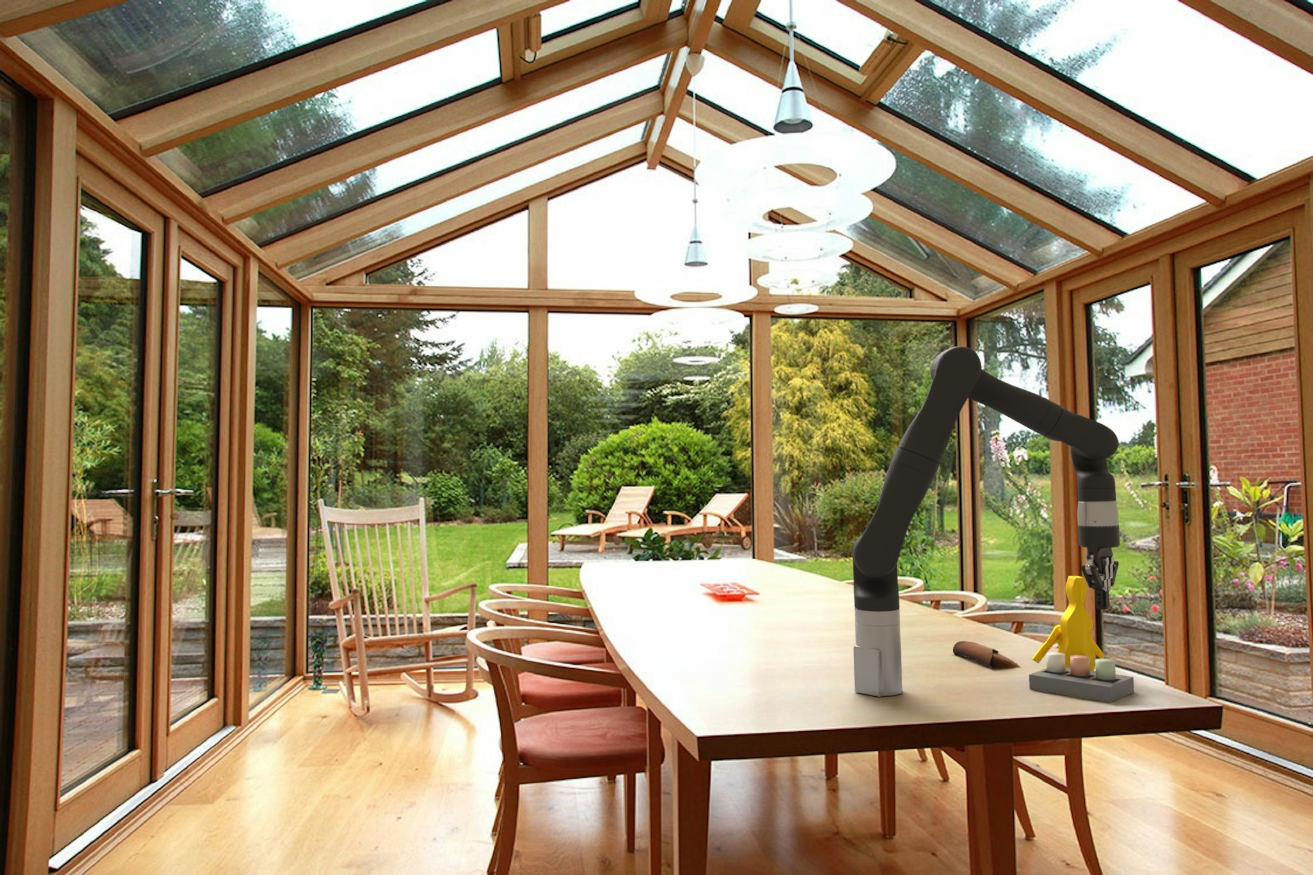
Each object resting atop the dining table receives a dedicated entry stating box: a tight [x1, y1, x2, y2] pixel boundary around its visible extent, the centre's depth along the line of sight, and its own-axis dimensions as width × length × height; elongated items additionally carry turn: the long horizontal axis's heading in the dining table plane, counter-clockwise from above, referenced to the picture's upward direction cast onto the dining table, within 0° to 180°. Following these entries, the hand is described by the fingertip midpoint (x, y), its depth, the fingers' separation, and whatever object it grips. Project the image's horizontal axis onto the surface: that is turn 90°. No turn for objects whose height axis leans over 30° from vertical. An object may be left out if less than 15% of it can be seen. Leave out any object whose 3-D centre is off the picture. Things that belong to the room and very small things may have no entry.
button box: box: [1028, 667, 1135, 703], centre depth 178 cm, size 12×16×3 cm
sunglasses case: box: [952, 640, 1021, 670], centre depth 209 cm, size 18×7×7 cm
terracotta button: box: [1070, 655, 1090, 676], centre depth 178 cm, size 4×4×4 cm
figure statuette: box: [1031, 575, 1106, 671], centre depth 193 cm, size 18×8×22 cm, turn 99°
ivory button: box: [1045, 651, 1066, 672], centre depth 182 cm, size 4×4×4 cm
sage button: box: [1094, 658, 1116, 680], centre depth 175 cm, size 4×4×4 cm
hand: (1102, 608), depth 175 cm, fingers closed
